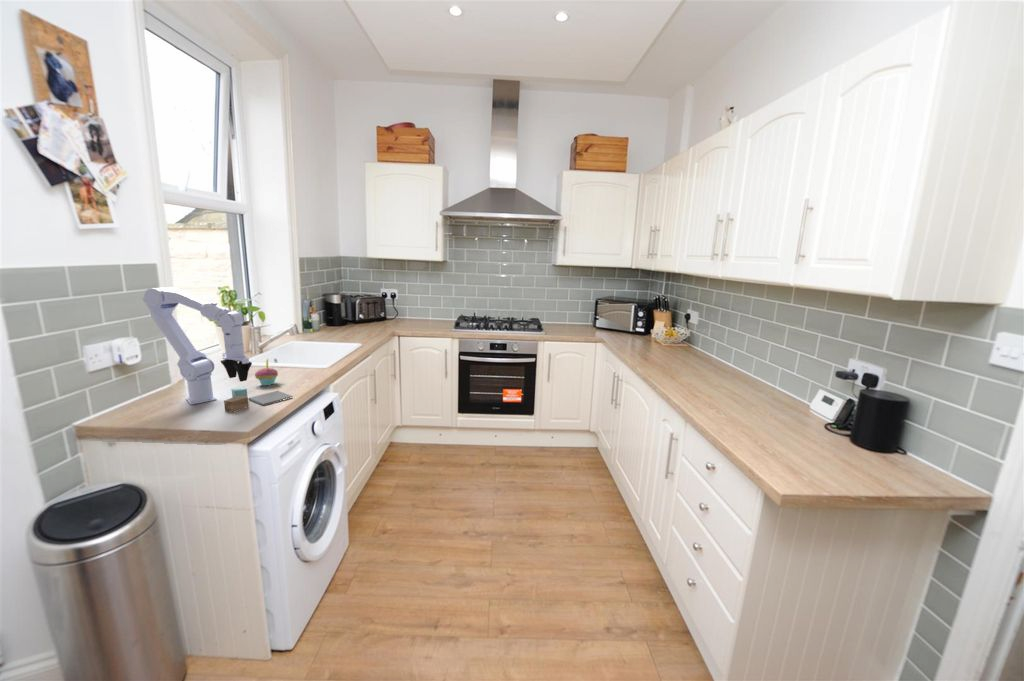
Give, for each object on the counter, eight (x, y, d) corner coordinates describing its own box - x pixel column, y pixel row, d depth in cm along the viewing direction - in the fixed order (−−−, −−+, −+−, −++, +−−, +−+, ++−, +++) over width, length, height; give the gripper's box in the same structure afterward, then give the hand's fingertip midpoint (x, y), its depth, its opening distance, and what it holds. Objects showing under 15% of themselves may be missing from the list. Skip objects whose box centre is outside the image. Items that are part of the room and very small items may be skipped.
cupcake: (282, 383, 176) (280, 357, 174) (262, 388, 169) (259, 361, 167) (272, 380, 181) (269, 354, 179) (252, 384, 174) (249, 357, 172)
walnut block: (225, 411, 145) (223, 400, 144) (240, 405, 150) (239, 395, 150) (233, 412, 144) (232, 401, 143) (248, 407, 149) (247, 396, 148)
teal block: (232, 401, 154) (231, 388, 153) (244, 398, 157) (243, 386, 156) (235, 403, 152) (234, 391, 151) (248, 401, 155) (246, 388, 154)
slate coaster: (248, 399, 156) (248, 397, 156) (277, 392, 165) (277, 390, 165) (263, 405, 150) (263, 403, 150) (292, 398, 159) (292, 396, 159)
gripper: (212, 343, 150) (216, 378, 153) (232, 348, 143) (236, 385, 146) (232, 340, 156) (236, 374, 159) (253, 345, 149) (256, 380, 152)
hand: (238, 379), depth 153 cm, fingers open, 7 cm apart
